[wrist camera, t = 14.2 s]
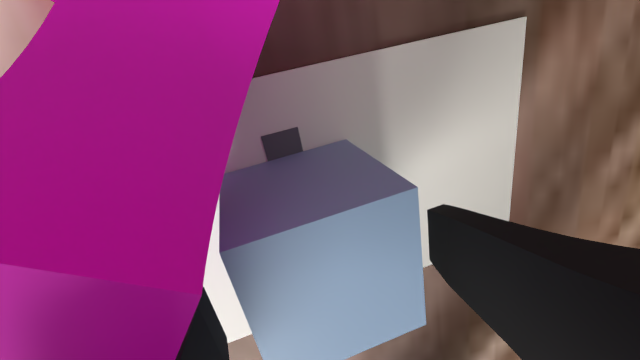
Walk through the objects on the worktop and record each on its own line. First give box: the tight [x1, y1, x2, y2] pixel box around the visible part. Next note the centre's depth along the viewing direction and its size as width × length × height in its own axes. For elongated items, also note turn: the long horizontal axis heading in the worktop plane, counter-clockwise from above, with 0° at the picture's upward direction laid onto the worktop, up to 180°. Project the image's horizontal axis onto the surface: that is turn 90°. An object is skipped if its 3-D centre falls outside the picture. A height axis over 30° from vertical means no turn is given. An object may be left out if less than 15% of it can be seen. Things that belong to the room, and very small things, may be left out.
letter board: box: [203, 17, 527, 343], centre depth 13 cm, size 11×22×1 cm, turn 101°
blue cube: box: [219, 139, 426, 360], centre depth 11 cm, size 5×5×5 cm
